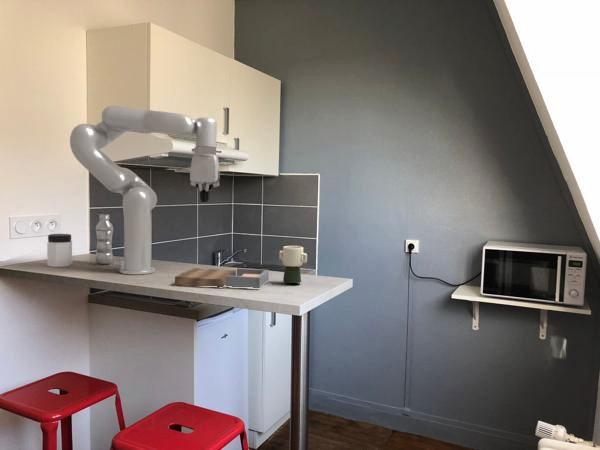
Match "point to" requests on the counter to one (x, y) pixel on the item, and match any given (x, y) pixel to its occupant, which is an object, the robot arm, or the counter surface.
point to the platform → (204, 277)
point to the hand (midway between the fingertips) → (204, 201)
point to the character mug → (292, 263)
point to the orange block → (251, 275)
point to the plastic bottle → (104, 240)
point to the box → (247, 278)
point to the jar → (59, 250)
